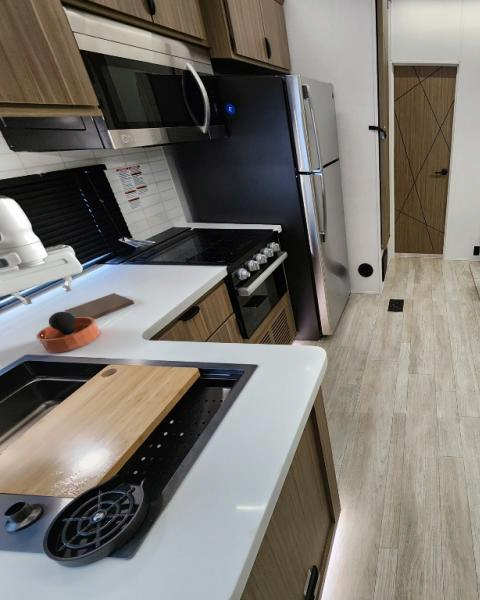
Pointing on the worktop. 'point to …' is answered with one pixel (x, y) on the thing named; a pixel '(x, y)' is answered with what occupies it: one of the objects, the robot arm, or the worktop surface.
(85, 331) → the bowl
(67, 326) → the black bulb silver base
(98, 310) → the board
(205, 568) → the worktop surface
